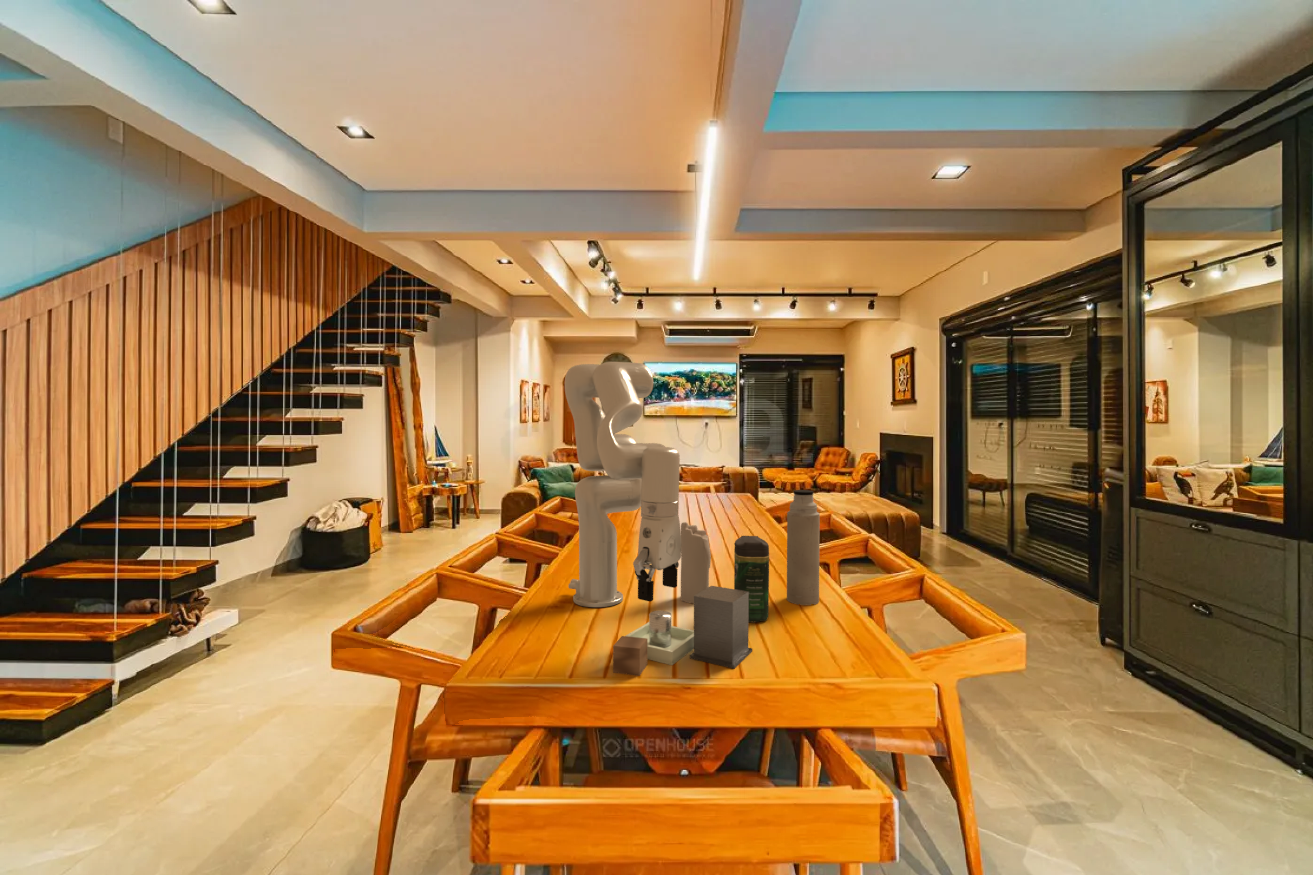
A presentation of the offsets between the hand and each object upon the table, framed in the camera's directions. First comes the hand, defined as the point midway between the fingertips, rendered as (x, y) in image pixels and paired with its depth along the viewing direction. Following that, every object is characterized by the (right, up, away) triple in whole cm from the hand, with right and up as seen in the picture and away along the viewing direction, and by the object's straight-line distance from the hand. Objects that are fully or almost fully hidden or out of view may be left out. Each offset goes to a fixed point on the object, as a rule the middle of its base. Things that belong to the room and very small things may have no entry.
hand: (658, 592), depth 116 cm
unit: (+12, -11, -4) cm, 17 cm away
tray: (0, -11, -1) cm, 11 cm away
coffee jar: (+22, -11, +18) cm, 30 cm away
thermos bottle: (+37, -10, +30) cm, 49 cm away
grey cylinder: (0, -10, -1) cm, 10 cm away
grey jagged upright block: (+13, -10, +30) cm, 35 cm away
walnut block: (-5, -11, -10) cm, 16 cm away
